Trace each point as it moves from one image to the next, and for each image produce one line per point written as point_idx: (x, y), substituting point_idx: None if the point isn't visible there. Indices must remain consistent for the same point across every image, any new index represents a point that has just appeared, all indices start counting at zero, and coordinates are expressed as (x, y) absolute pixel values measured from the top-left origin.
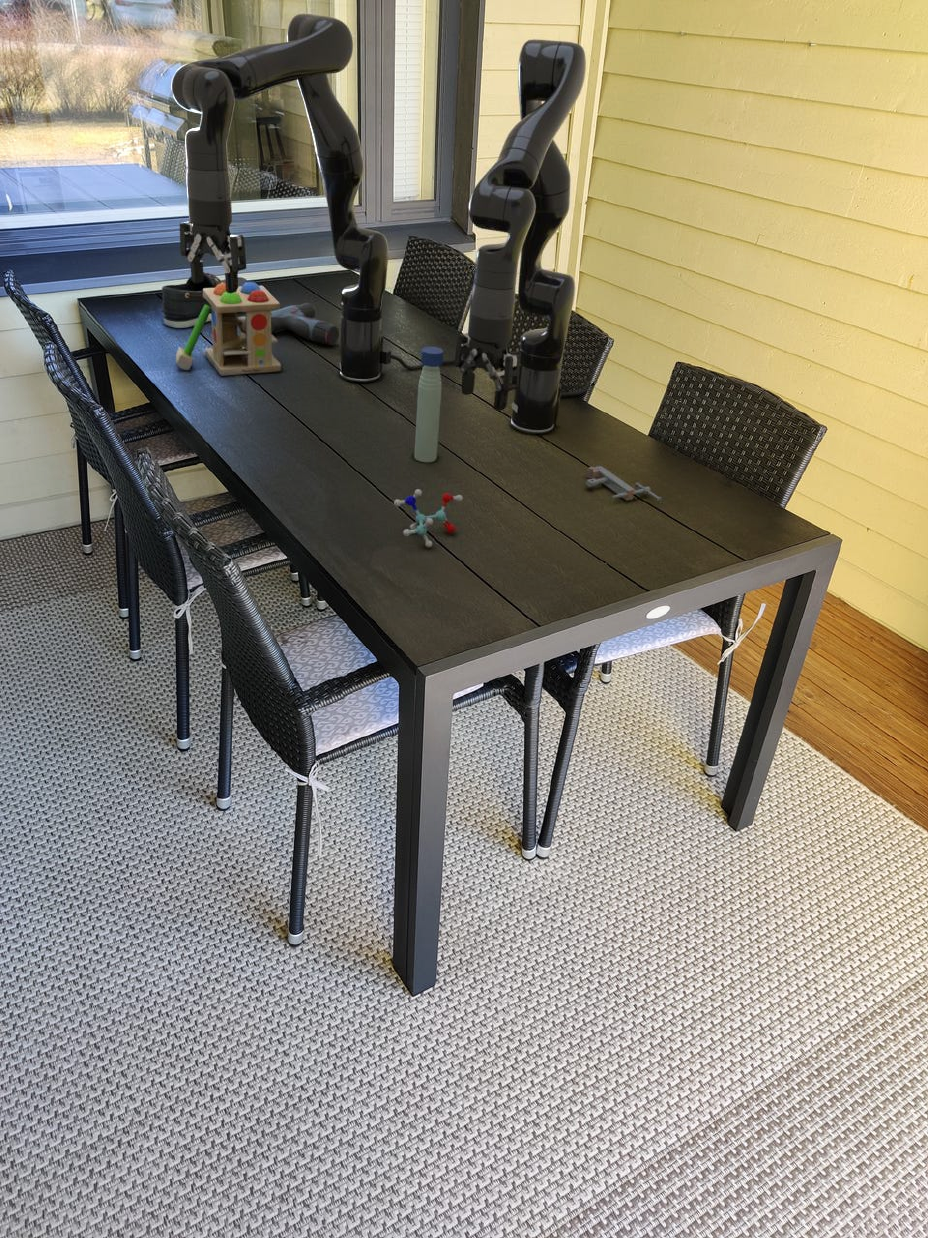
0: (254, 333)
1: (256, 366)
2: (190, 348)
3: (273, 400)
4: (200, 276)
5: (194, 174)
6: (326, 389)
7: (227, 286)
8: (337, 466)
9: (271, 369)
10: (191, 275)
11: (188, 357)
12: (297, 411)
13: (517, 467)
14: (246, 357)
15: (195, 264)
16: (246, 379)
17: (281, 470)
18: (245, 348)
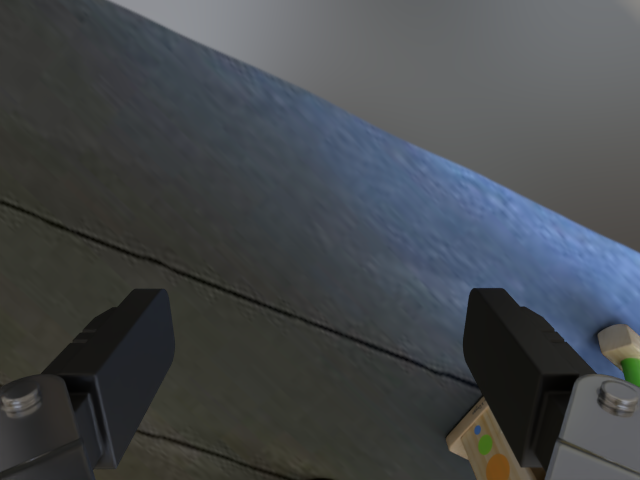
0: (511, 475)
1: (480, 416)
2: (629, 373)
3: (361, 337)
4: (477, 350)
5: None
6: (323, 432)
7: (128, 307)
8: (39, 192)
9: (457, 429)
10: (539, 317)
11: (615, 351)
12: (289, 329)
13: None
14: None
15: (531, 381)
16: None
17: (92, 96)
18: None
